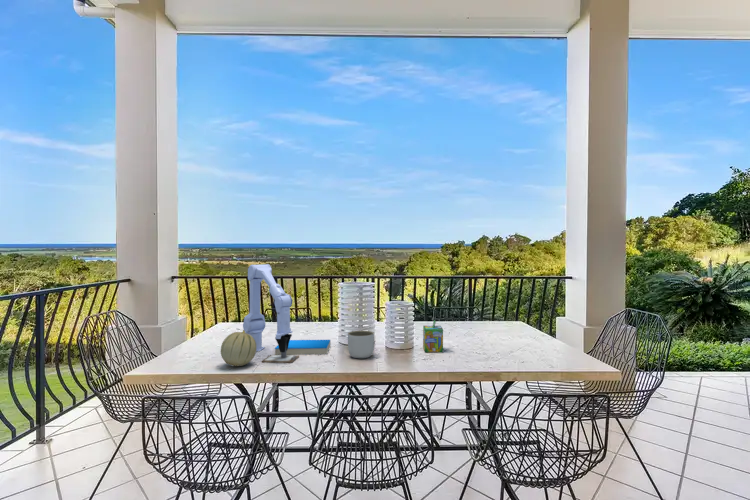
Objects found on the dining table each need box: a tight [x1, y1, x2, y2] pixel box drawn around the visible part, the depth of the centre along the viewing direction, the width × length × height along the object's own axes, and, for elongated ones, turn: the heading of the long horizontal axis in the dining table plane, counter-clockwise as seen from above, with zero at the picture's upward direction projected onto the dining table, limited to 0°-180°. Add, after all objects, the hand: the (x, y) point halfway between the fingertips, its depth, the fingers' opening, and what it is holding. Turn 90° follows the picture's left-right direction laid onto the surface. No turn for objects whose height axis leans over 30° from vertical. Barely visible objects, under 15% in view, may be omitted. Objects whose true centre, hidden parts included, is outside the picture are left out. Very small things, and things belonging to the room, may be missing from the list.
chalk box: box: [422, 319, 444, 353], centre depth 189 cm, size 9×9×15 cm
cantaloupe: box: [220, 329, 257, 367], centre depth 166 cm, size 15×15×15 cm
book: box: [274, 339, 332, 356], centre depth 191 cm, size 17×4×25 cm
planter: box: [347, 330, 375, 359], centre depth 179 cm, size 12×12×11 cm
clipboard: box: [261, 354, 300, 364], centre depth 175 cm, size 14×10×1 cm
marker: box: [281, 350, 286, 358], centre depth 175 cm, size 3×3×8 cm
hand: (283, 351), depth 175 cm, fingers closed on marker, 2 cm apart
